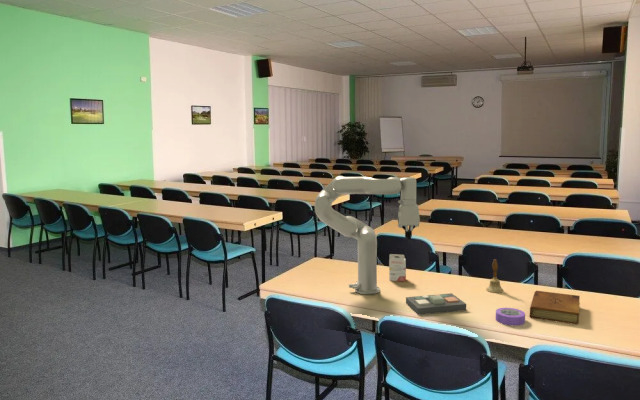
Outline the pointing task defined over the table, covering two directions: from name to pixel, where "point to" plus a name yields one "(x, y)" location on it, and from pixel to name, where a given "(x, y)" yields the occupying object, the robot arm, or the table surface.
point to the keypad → (435, 305)
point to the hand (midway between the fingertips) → (408, 238)
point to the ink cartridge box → (397, 268)
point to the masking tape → (510, 316)
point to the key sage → (436, 299)
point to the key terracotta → (451, 299)
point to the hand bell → (494, 280)
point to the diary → (555, 307)
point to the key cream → (422, 302)
